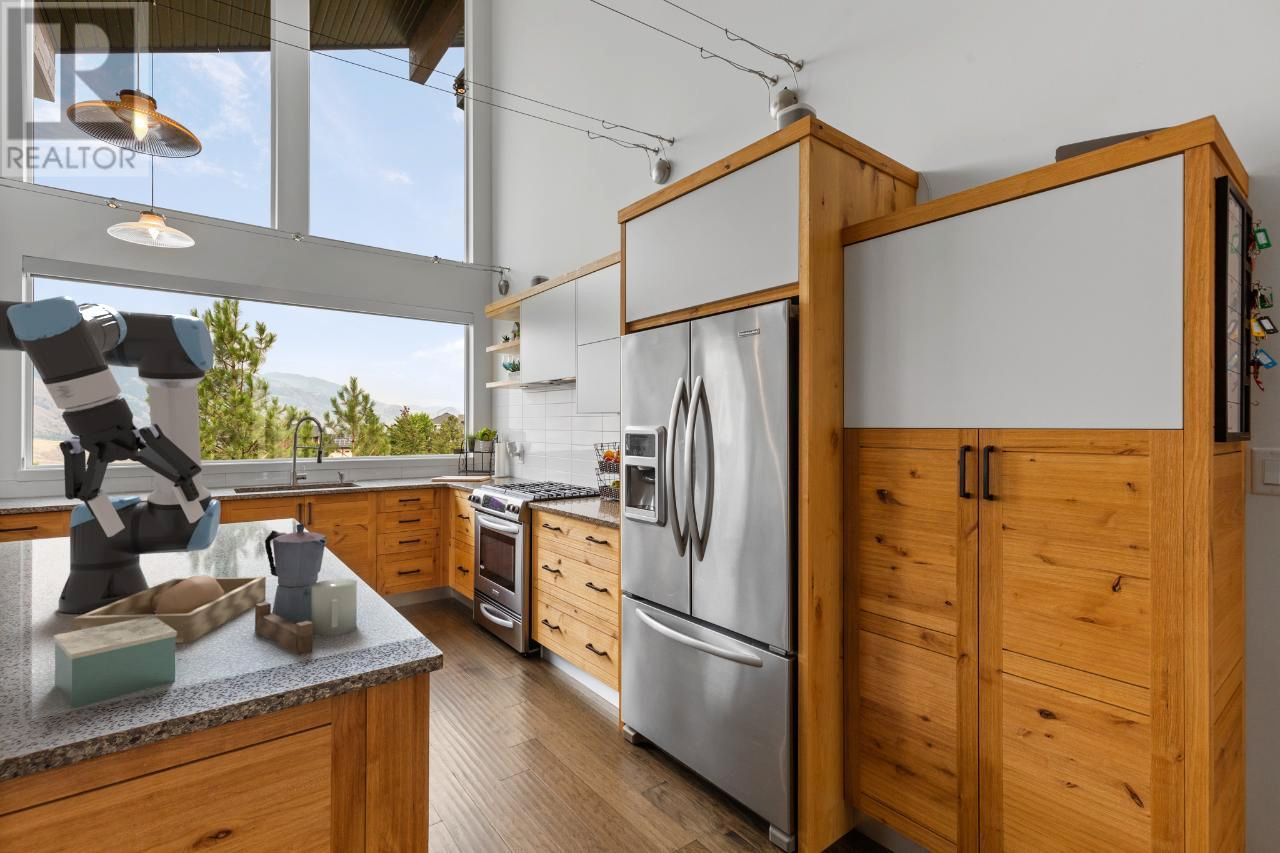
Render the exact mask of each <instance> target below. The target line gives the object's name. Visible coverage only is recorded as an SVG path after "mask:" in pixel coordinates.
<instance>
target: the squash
mask: <svg viewBox="0 0 1280 853" xmlns="http://www.w3.org/2000/svg"><path fill="white" fill-rule="evenodd" d="M215 578H216V577H213V576H210V575H208V574H205V575H195V576H194V575H193V576H190V577H187V579H185V580H183V581H182V582H180V583H179V584H177V585H175V586H173V587H171V588H169V589H168V590H166V591H164V592H161V593H159V594H157V595H155V597H154V598H153V601H152V605H151V607H152V608H153V609H154V610H155V612H154V614H185V613H189V612H191V611H193V610H195V609H197V608H199V607H201V606H203V605H205V604H207V603H209V602H211V601H213V600H215V599H218V598H220V597H221V596H223V595H224V590H223V589H222V588H221V586H220V585H219V583H218V582H217V581H216V579H215Z"/></svg>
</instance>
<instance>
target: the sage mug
mask: <svg viewBox="0 0 1280 853" xmlns="http://www.w3.org/2000/svg"><path fill="white" fill-rule="evenodd" d="M316 582H317V583H315V584H313V585H312V593H311V622H312V623H313V636H315V635H316V637H334V635H336V636H340V635H339V634H341V635H345V634H347V632H348V633H350V631H351V632H353V631H354V630H356V629H357V620H358V619H357V616H358V615H357V612H358V611H357V608H358V607H357V605H358V604H357V603H358V600H357V598H358V597H357V596H358V595H357V594H358V581H357V580H355V579H351V578H334V579H326V580H325V579H324V580H322V581H316ZM355 628H356V629H355ZM352 630H353V631H352ZM344 633H345V634H344Z"/></svg>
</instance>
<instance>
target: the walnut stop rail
mask: <svg viewBox="0 0 1280 853" xmlns="http://www.w3.org/2000/svg"><path fill="white" fill-rule="evenodd" d="M271 605H272V604H271V603H270V602H267V601H264V602H259V603H257V604H255V605H254V606H255V609H254V612H255V613H254V630H255V632H256V633H258V634H260V635H262V636H264V637H266V638H268V639H269V640H271V641H273V642H275V643H276V644H279V645H281V646H283V647H284V648H286V649H288V650H290V651H292V653H293V652H294V653H295V654H297V655H299V656H305V655H308V654H312V653H313V651H314V646H313V645H314V643H313V642H314V635H313V623H312V622H310V621H304V622H300V623H296V624H294V623H292V622H290V621H288V620H285V619H283V618H281V617H279V616H277V615H275V614H273V613H272V611H271V610H272V606H271ZM311 652H312V653H311ZM307 653H308V654H307Z"/></svg>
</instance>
